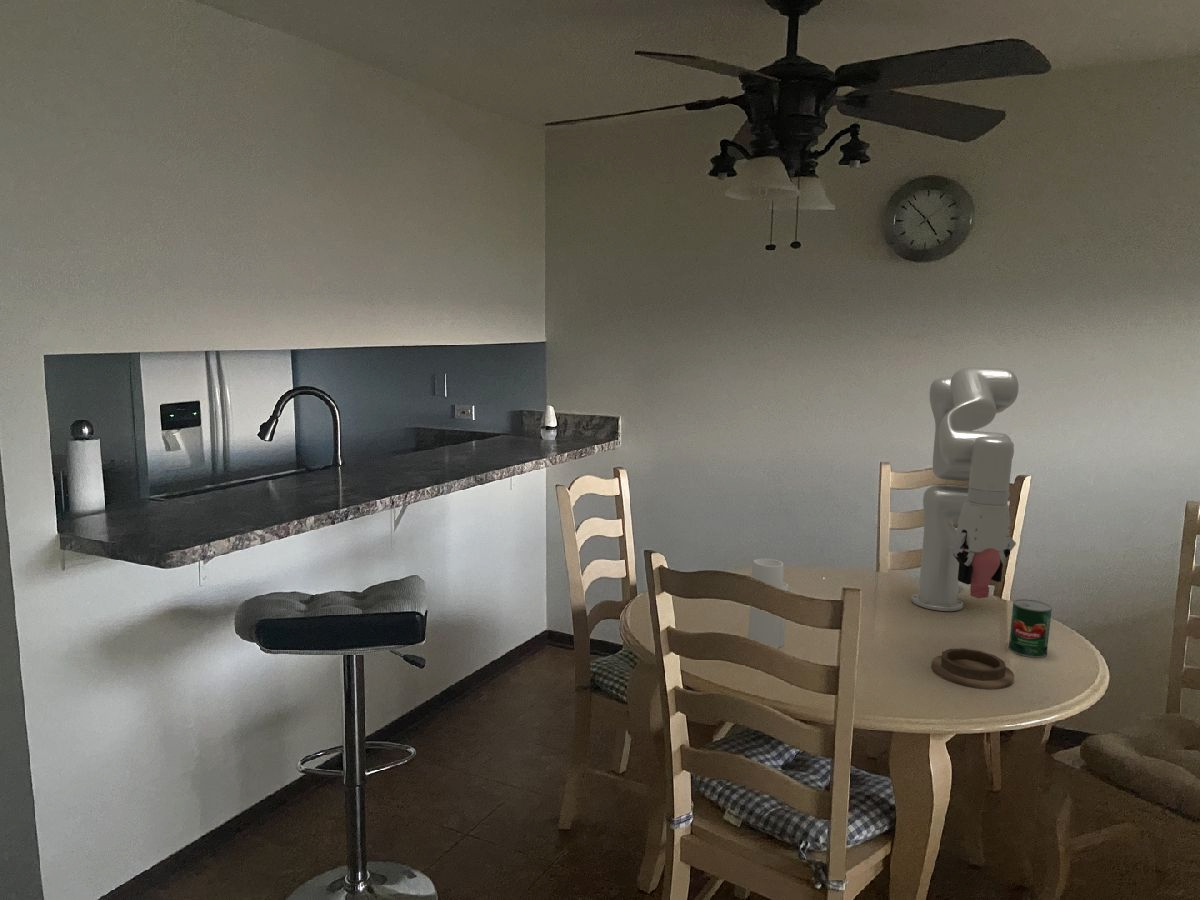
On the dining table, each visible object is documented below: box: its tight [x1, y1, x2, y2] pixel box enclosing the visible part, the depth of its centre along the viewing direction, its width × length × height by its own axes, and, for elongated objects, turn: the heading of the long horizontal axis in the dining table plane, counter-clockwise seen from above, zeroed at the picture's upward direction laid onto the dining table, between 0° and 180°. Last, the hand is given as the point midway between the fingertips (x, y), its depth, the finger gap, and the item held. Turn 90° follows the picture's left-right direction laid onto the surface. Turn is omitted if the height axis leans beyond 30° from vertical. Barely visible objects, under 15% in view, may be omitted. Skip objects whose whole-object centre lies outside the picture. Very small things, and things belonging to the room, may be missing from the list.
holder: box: [930, 648, 1015, 690], centre depth 183 cm, size 16×16×3 cm
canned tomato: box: [1008, 598, 1053, 659], centre depth 196 cm, size 8×8×11 cm
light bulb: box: [965, 548, 1000, 600], centre depth 181 cm, size 7×7×12 cm
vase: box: [747, 558, 789, 650], centre depth 193 cm, size 11×7×20 cm, turn 155°
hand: (979, 580), depth 181 cm, fingers closed on light bulb, 7 cm apart
